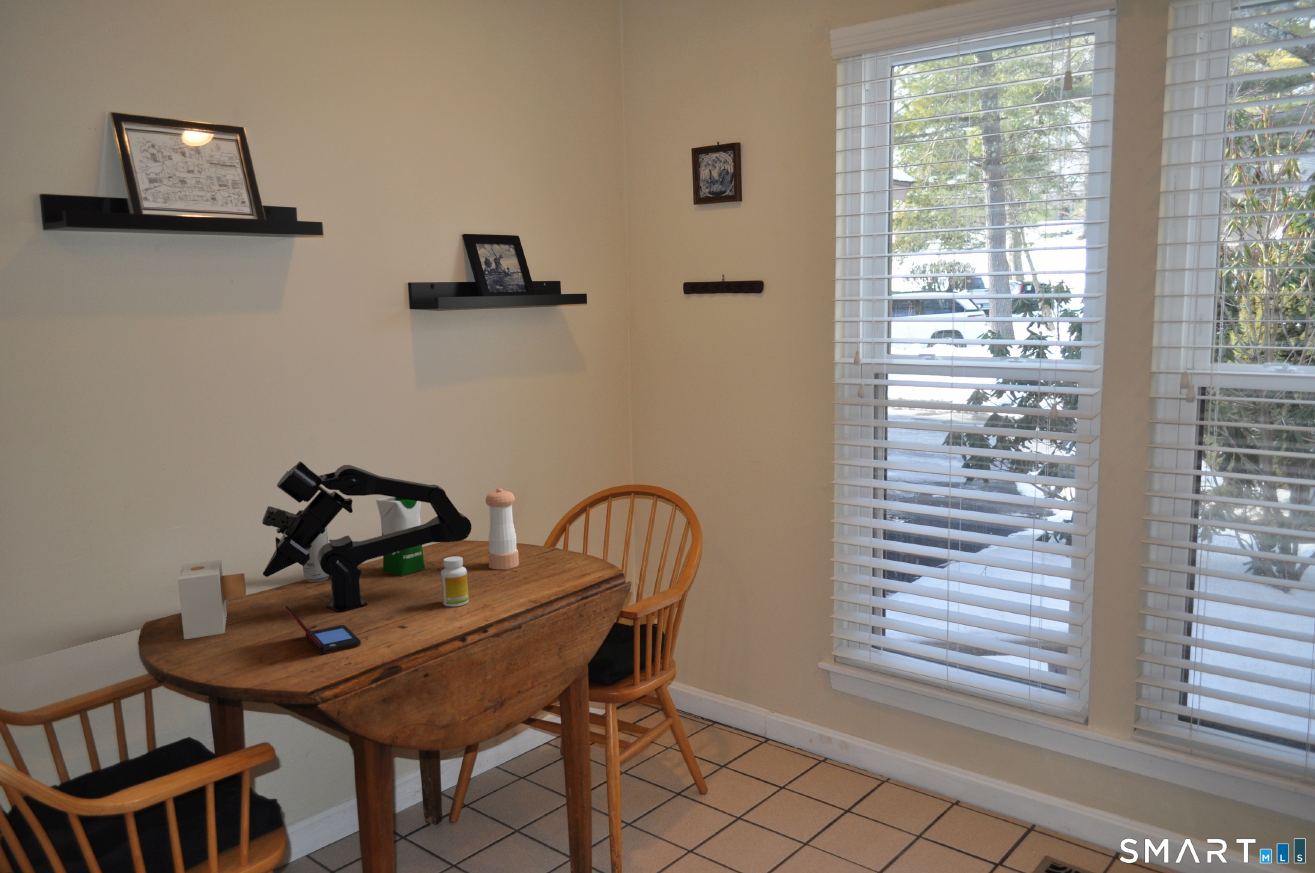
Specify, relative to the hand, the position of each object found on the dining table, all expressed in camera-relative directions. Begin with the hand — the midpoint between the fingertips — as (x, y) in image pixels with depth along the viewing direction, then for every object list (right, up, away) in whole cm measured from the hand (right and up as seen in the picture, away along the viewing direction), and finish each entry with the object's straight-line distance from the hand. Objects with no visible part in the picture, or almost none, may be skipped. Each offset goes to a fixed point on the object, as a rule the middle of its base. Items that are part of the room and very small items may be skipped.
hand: (264, 575), depth 182 cm
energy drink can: (0, -6, +28) cm, 29 cm away
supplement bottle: (+38, -7, +7) cm, 39 cm away
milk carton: (+19, -4, +33) cm, 39 cm away
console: (-10, -10, -3) cm, 15 cm away
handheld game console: (+18, -11, -15) cm, 25 cm away
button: (-5, -4, -2) cm, 7 cm away
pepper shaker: (+43, -3, +35) cm, 56 cm away
